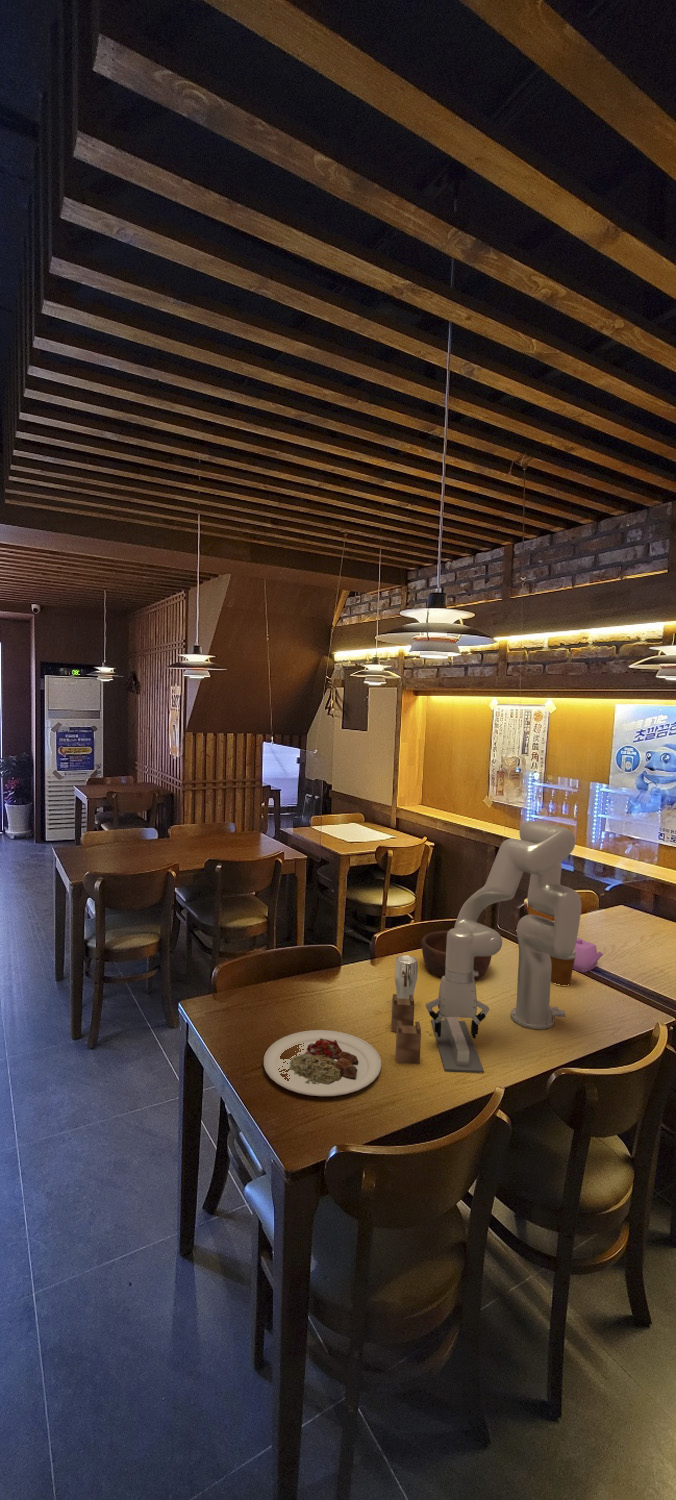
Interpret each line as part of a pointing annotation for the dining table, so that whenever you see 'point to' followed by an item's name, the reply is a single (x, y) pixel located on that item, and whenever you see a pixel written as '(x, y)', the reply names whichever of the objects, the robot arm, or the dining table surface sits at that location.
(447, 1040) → the mat
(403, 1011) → the post
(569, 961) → the disposable coffee cup
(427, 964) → the wooden bowl
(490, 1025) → the dining table surface
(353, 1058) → the plated food
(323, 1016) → the dining table surface
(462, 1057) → the rail
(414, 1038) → the post
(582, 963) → the teapot
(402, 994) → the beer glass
